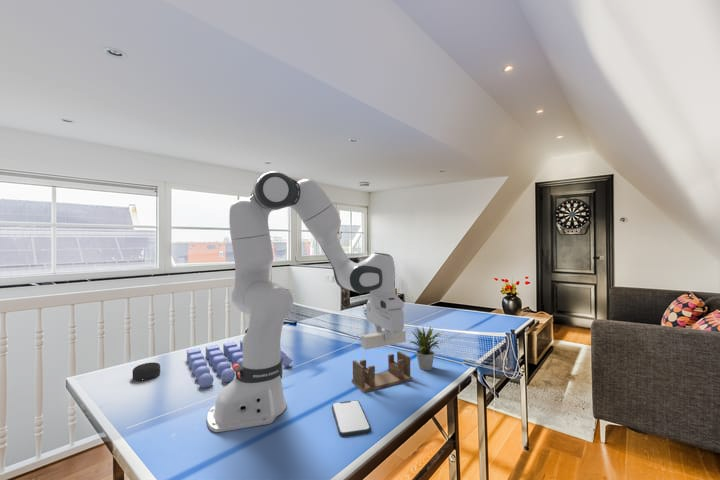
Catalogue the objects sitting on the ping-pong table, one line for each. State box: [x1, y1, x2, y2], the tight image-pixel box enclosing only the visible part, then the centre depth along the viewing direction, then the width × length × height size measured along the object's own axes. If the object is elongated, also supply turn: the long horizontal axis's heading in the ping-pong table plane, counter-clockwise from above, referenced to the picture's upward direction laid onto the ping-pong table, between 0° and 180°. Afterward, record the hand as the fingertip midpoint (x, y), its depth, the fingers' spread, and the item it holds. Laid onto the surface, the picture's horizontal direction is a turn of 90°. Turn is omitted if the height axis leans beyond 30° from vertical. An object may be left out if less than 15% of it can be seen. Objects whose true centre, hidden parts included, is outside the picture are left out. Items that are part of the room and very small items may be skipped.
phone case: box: [331, 400, 372, 438], centre depth 94 cm, size 9×2×16 cm
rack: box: [351, 351, 413, 393], centre depth 119 cm, size 20×9×8 cm, turn 118°
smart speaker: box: [132, 361, 161, 381], centre depth 125 cm, size 9×9×4 cm
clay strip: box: [360, 329, 407, 351], centre depth 114 cm, size 16×3×4 cm, turn 116°
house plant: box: [409, 325, 443, 371], centre depth 130 cm, size 14×14×16 cm
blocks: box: [186, 339, 293, 389], centre depth 137 cm, size 35×34×5 cm
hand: (383, 339), depth 114 cm, fingers closed on clay strip, 3 cm apart
